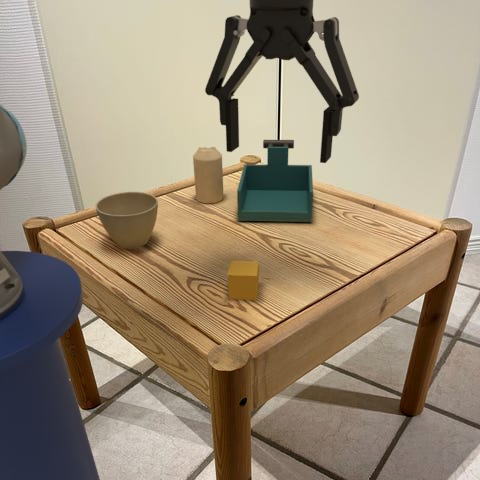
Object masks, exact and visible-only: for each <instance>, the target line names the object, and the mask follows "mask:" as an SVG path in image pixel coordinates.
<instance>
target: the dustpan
mask: <svg viewBox="0 0 480 480" xmlns="http://www.w3.org/2000/svg"><path fill="white" fill-rule="evenodd" d="M262 141H263V142H262V148H263V149H267V153H266V154H267V155H266V156H267V163H266V164H243V167H242V171H241V175H240V179H239V183H238V187H237V190H236V196H237V197H236V199H237V200H236V201H237V221H243V222H245V221H246V222H248V221H249V222H294V223H295V222H297V223H299V222H300V223H312V218H313V217H312V216H313V203H314V202H313V201H314V184H313V183H314V182H313V165H312V164H289V150H290V149H292V150H293V149H294V148H295V140H294V139H262Z"/></svg>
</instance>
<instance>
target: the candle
mask: <svg viewBox="0 0 480 480" xmlns="http://www.w3.org/2000/svg"><path fill="white" fill-rule="evenodd" d="M192 160H193V161H192V165H193V175H194V189H195V190H194V191H195V199H196V201H198V202H199V203H203V204H214V203H218V202H221V201H222V200H224V174H223V172H224V171H223V155H222V153H221V152H220V151H219V149H217V148H216V147H215V146H212V147H206V146H205V147H198V149H197V150H196V151H195V153H194V154H193V155H192Z"/></svg>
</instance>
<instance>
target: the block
mask: <svg viewBox="0 0 480 480" xmlns="http://www.w3.org/2000/svg"><path fill="white" fill-rule="evenodd" d="M227 287H228V289H227V291H228V300H241V301H242V300H243V301H258V296H259V289H260V288H259V287H260V262H259V261H252V260H251V261H249V260H230V264H229V269H228V273H227Z"/></svg>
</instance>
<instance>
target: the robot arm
mask: <svg viewBox="0 0 480 480" xmlns="http://www.w3.org/2000/svg"><path fill="white" fill-rule="evenodd" d="M246 31H247V33H248V35H249V36H250V39H251V40H252V44H251V45H250V46H249V48H248V49H247V51H246V52H245V53H244V57H243V58H242V59H241V61H240V62H239V63H238V65H237V66H236V68H235V69H234V70H233V72H232V73H231V75H230V76H229V78H228V79H227V80H226V82H225V83H224V81H225V79H226V77H227V74H228V71H229V69H230V67H231V64H232V61H233V60H234V59H233V58H234V56H235V54H236V51H237V48H238V46H239V43H240V40H241V38H242V37H243V36H244V35H245V33H246ZM315 33H317V35H318V38H319V40H321V41H323V44H324V48H325V50H326V54H327V57H328V59H329V62H330V65H331V68H332V71H333V74H334V76H335V79H336V82H337V85H338V87H339V89H338V88H337V86H336V84H335V83H334V81H333V80H332V79H331V77H330V75H329V74H328V73H327V71H326V69H325V68H324V66H323V65H322V63H321V61H320V60H319V59H318V57H317V55H316V52H315V50H314V48H313V47H312V45H311V44H310V42H309V41H310V40H311V38H312V37H313V35H314V34H315ZM262 57H264V58H265V60H275V59H279V60H282V61H290V60H293V59H296V61H297V63H298V64H299V65H300V66H302V67H303V69H304V71H305V72H306V74H307V75H308V76H309V78H310V80H311V81H312V83H313V84H314V86H315V87H316V89H317V90H318V92H319V94H320V95H321V96H322V98H323V100H325V103H327V105H328V107H327V108H325V109H323V115H322V129H321V140H320V141H321V142H320V157H319V163H321V164H326V163H327V162H328V161H329V160H331V157H332V151H333V150H332V149H333V138H334V137H337V136H339V134H340V132H341V131H342V122H343V111H344V108H347V107H352V106H353V105H355V104H356V103H357V102H358V100H359V99H360V94H359V91H358V89H357V86H356V82H355V80H354V76H353V74H352V72H351V68H350V65H349V63H348V59H347V57H346V54H345V51H344V48H343V45H342V41H341V38H340V21H339V19H338V17H337V16H333V17H331V18H327V19H321V20H316V19H315V17H314V0H249V17H248V18H244V17H241V15H238V14H236V15H231V16H227V17H226V18H225V22H224V37H223V40H222V42H221V46H220V48H219V51H218V53H217V56H216V59H215V61H214V64H213V67H212V70H211V72H210V75H209V76H208V77H209V78H208V79H207V83H206V85H205V89H204V92H205V94H206V95H207V96H212V97H214V98H216V99H217V100H218V105H219V122H220V125H221V126H225V141H226V142H225V143H226V144H225V145H226V152H227V153H233V152H235V150H236V149H239V147H240V123H239V122H240V120H239V118H240V117H239V116H240V115H239V114H240V113H239V98H234V96H235V93H236V92H237V91H238V89H239V88H240V86H241V85H242V83H243V82H244V80H245V79H246V78H247V77H248V76H249V74H250V73H251V72H252V70H253V69H254V67H256V65H257V63H258V62H259V61H260V59H262ZM339 90H340V91H339ZM27 147H28V146H27V139H26V135H25V132H24V129H23V127H22V125H21V123H20V122H19V120H18V118H17V117H16V116H15V115H14V113H13V112H11V111H10V110H8V109H6V108H5V106H4V105H3V104H1V103H0V191H2V189H3V188H5V187H7V186H9V185H10V184H12V182H13V181H14V180H15V178H16V177H17V175H18V174H19V172H20V170H21V169H22V167H23V165H24V163H25V161H26V157H27V150H28V149H27ZM1 251H2V250H0V320H2V319H3V318H5V317H6V316H8V315H9V314H11V313H12V312H13V311H14V310H15V309H16V308H17V307H18V306H19V305H20V304H21V302H22V300H23V298H24V295H25V290H24V287H23V284H22V280H21V278H20V276H19V275H18V273H17V272H16V270H15V269H14V268H13V266H12V265H11V264H10V262H9V261H8V260H7V259H6V257H5V256H4V255H3V253H2V252H1Z"/></svg>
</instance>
